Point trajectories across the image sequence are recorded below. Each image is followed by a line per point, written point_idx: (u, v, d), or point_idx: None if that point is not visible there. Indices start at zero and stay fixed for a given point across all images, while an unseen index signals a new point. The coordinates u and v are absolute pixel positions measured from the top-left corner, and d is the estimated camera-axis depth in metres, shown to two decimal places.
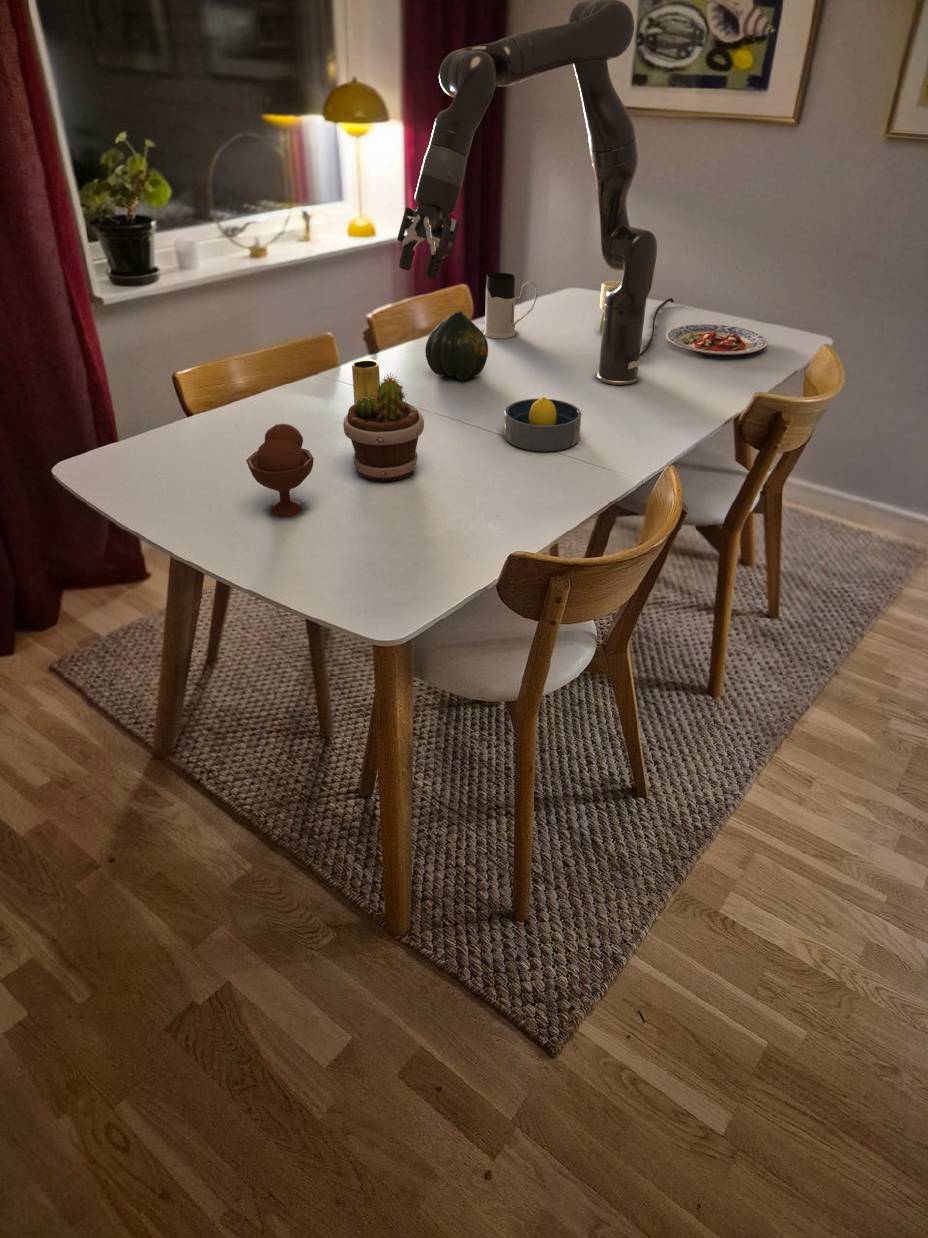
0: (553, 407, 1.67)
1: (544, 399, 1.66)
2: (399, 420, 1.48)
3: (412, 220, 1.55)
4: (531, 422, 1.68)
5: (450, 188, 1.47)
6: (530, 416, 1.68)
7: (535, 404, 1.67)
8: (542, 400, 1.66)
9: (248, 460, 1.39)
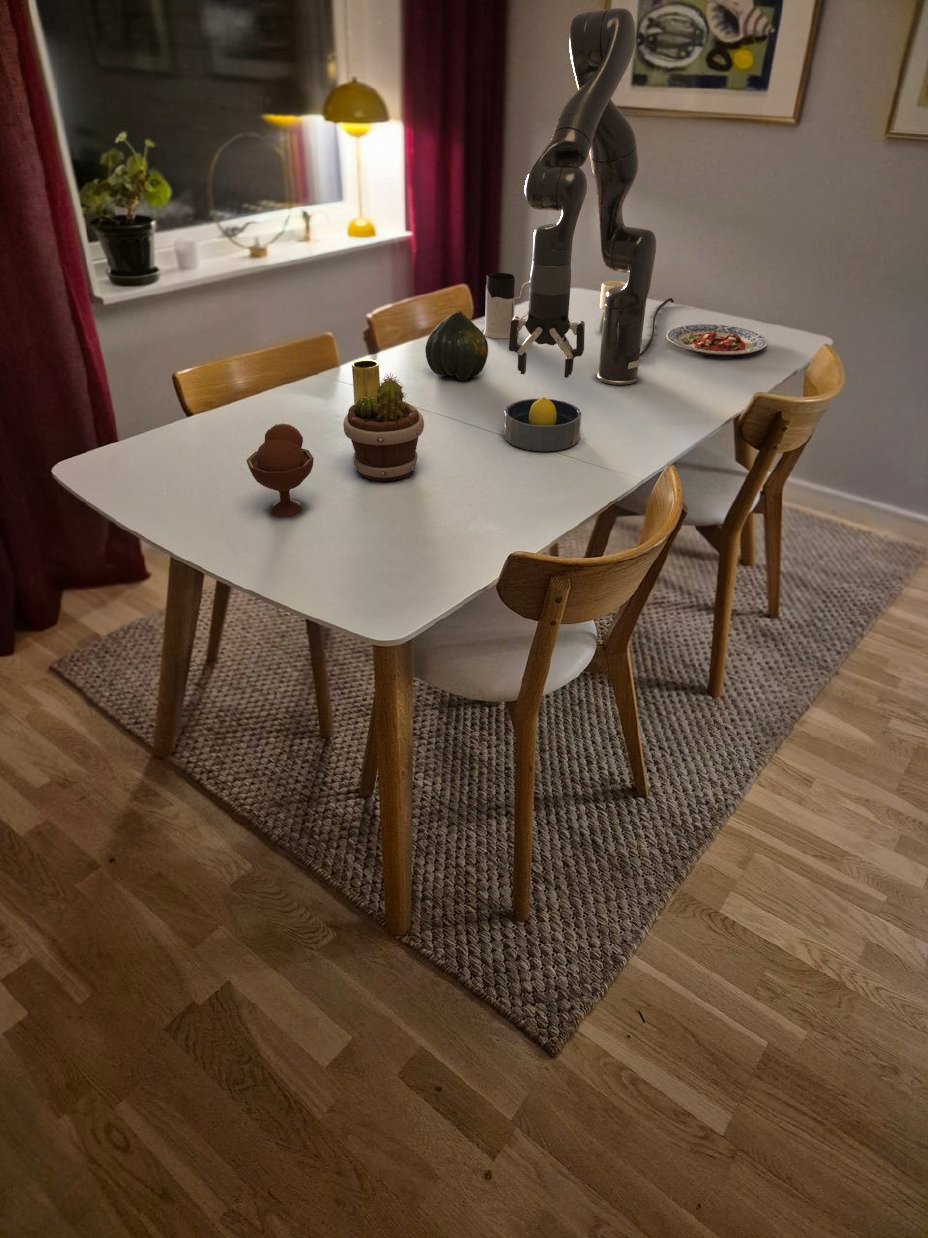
0: (553, 407, 1.67)
1: (544, 399, 1.66)
2: (399, 420, 1.48)
3: (520, 329, 1.60)
4: (531, 422, 1.68)
5: (569, 296, 1.54)
6: (530, 416, 1.68)
7: (535, 404, 1.67)
8: (542, 400, 1.66)
9: (248, 460, 1.39)
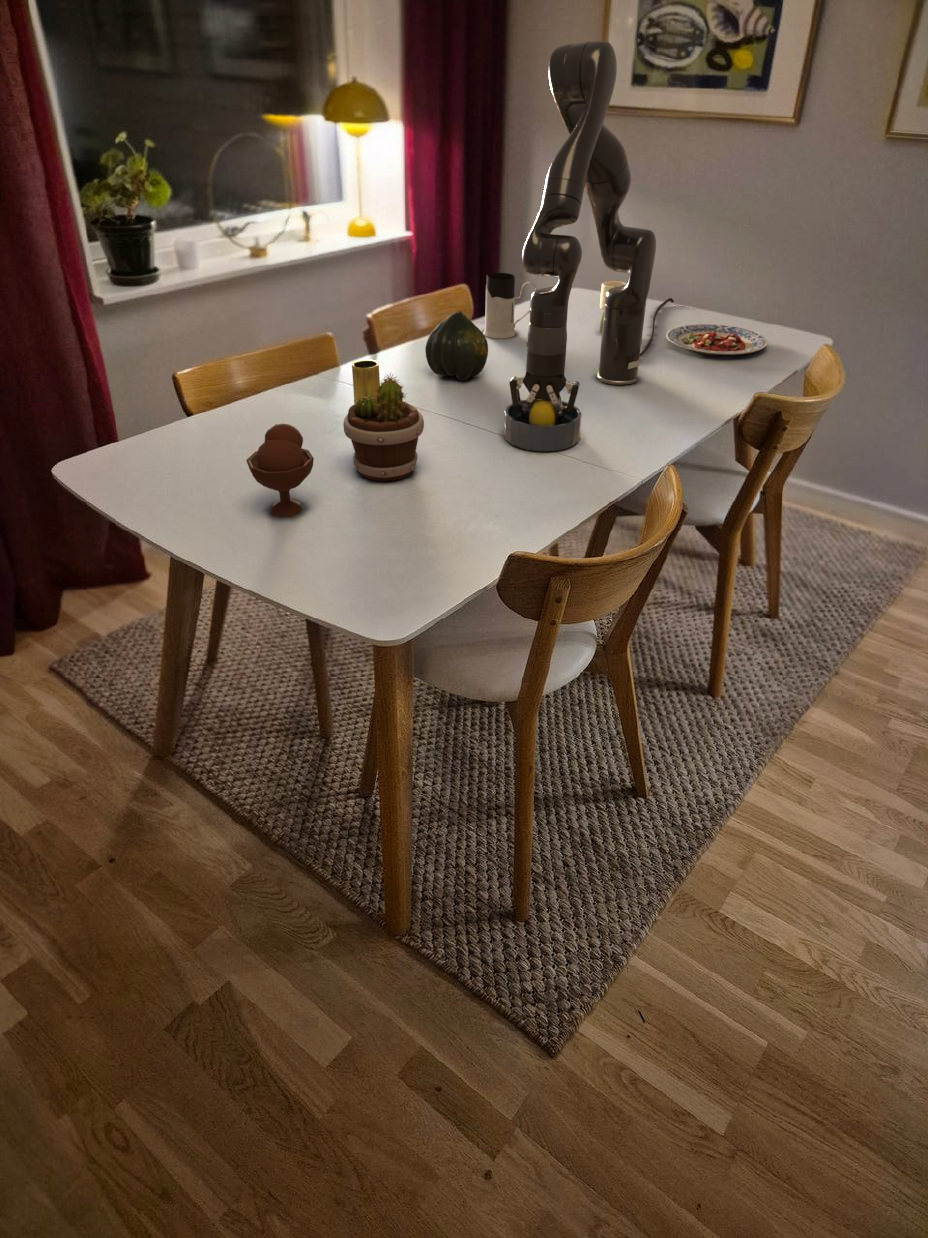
0: (553, 407, 1.67)
1: None
2: (399, 420, 1.48)
3: (520, 387, 1.66)
4: (531, 422, 1.68)
5: (565, 355, 1.61)
6: (530, 416, 1.68)
7: (535, 404, 1.67)
8: (542, 400, 1.66)
9: (248, 460, 1.39)
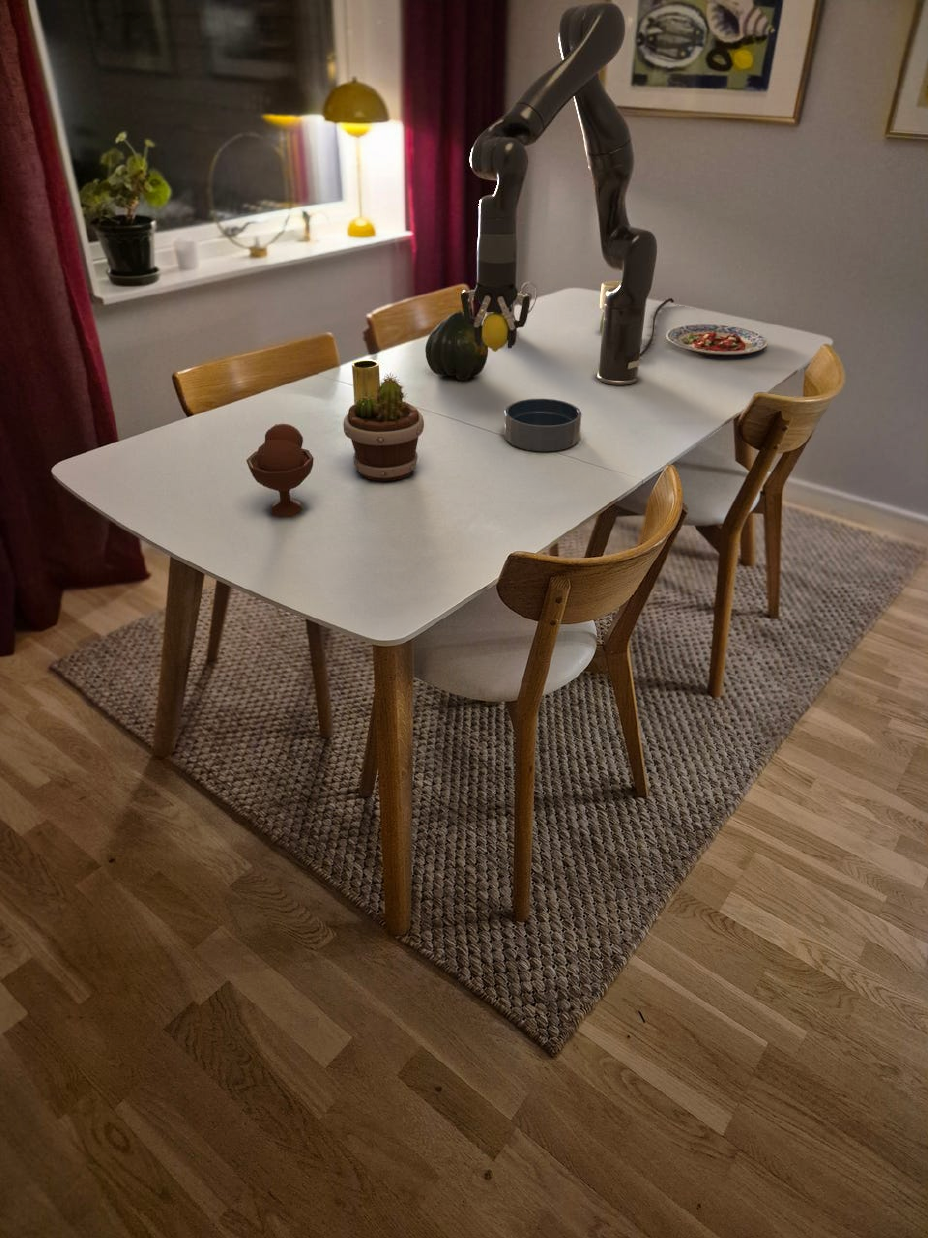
0: (505, 320, 1.65)
1: None
2: (399, 420, 1.48)
3: (472, 300, 1.64)
4: (483, 336, 1.66)
5: (515, 265, 1.59)
6: (482, 330, 1.66)
7: (487, 317, 1.65)
8: (494, 313, 1.65)
9: (248, 460, 1.39)
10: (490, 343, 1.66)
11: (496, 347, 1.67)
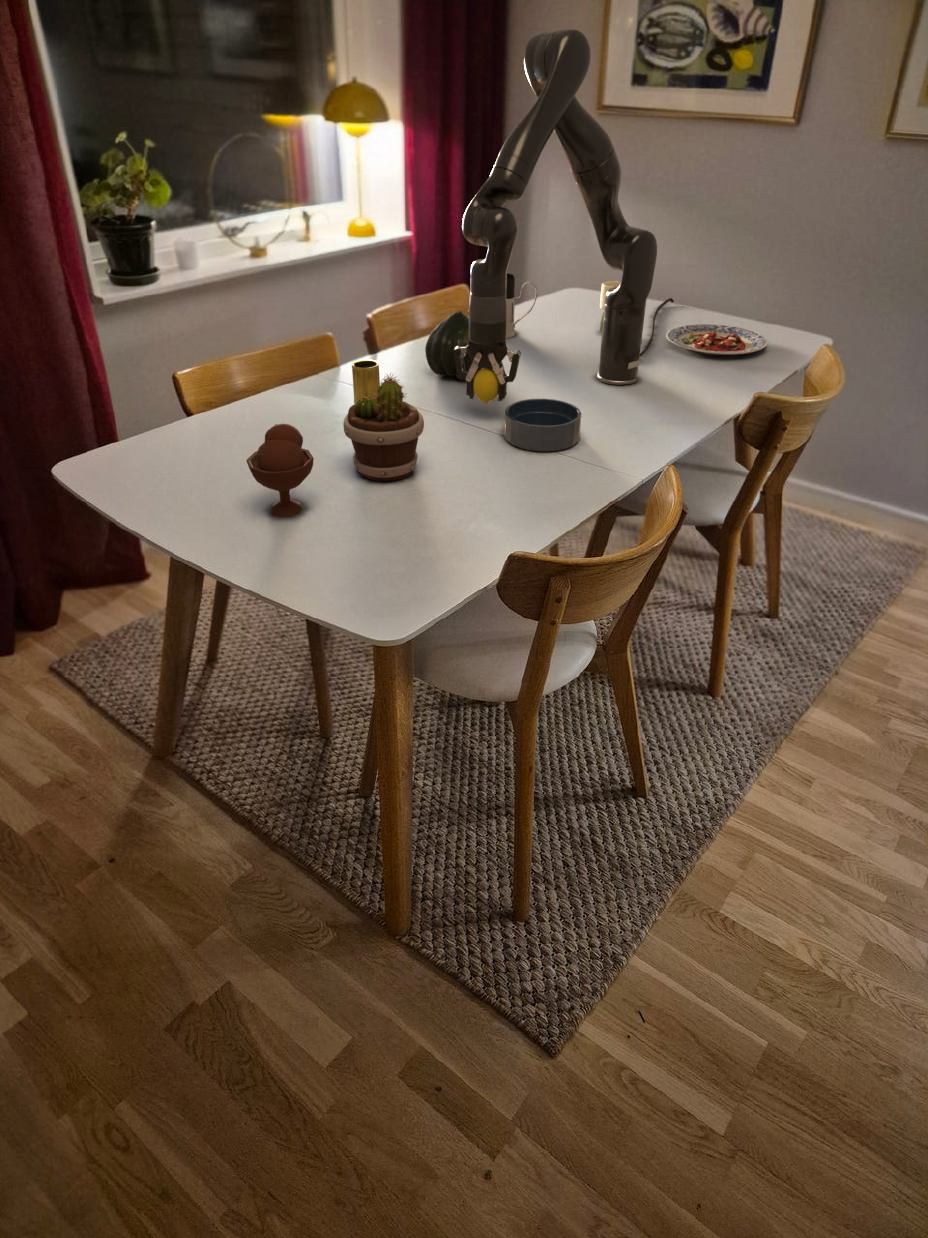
0: (496, 375, 1.72)
1: None
2: (399, 420, 1.48)
3: None
4: (475, 390, 1.74)
5: (505, 324, 1.66)
6: (474, 384, 1.74)
7: (478, 372, 1.72)
8: (485, 368, 1.72)
9: (248, 460, 1.39)
10: (481, 396, 1.74)
11: (487, 400, 1.75)
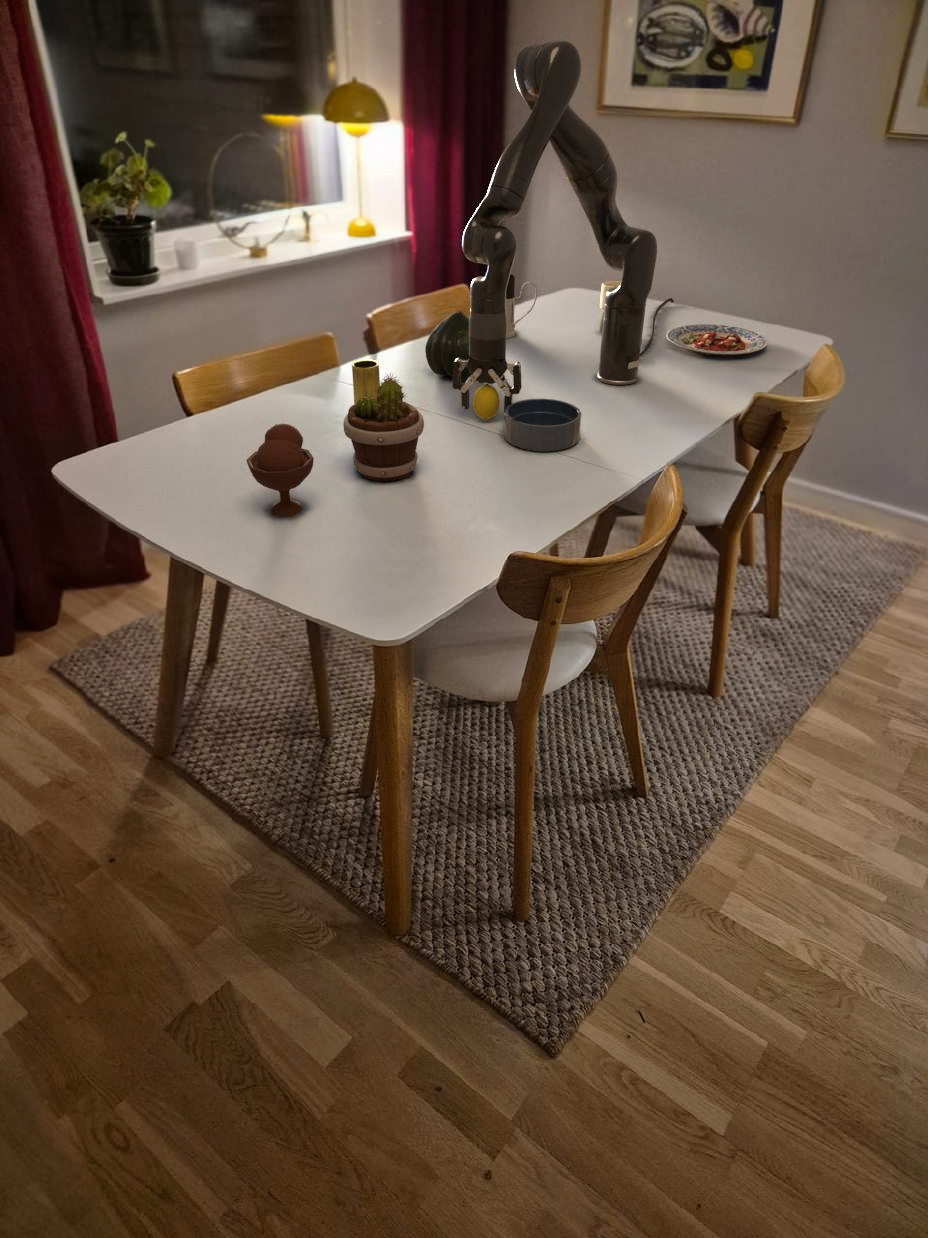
0: (495, 393, 1.75)
1: (487, 385, 1.74)
2: (399, 420, 1.48)
3: (462, 369, 1.74)
4: (475, 407, 1.76)
5: (505, 340, 1.68)
6: (474, 401, 1.76)
7: (478, 390, 1.75)
8: (485, 386, 1.74)
9: (248, 460, 1.39)
10: (481, 413, 1.76)
11: (487, 417, 1.77)
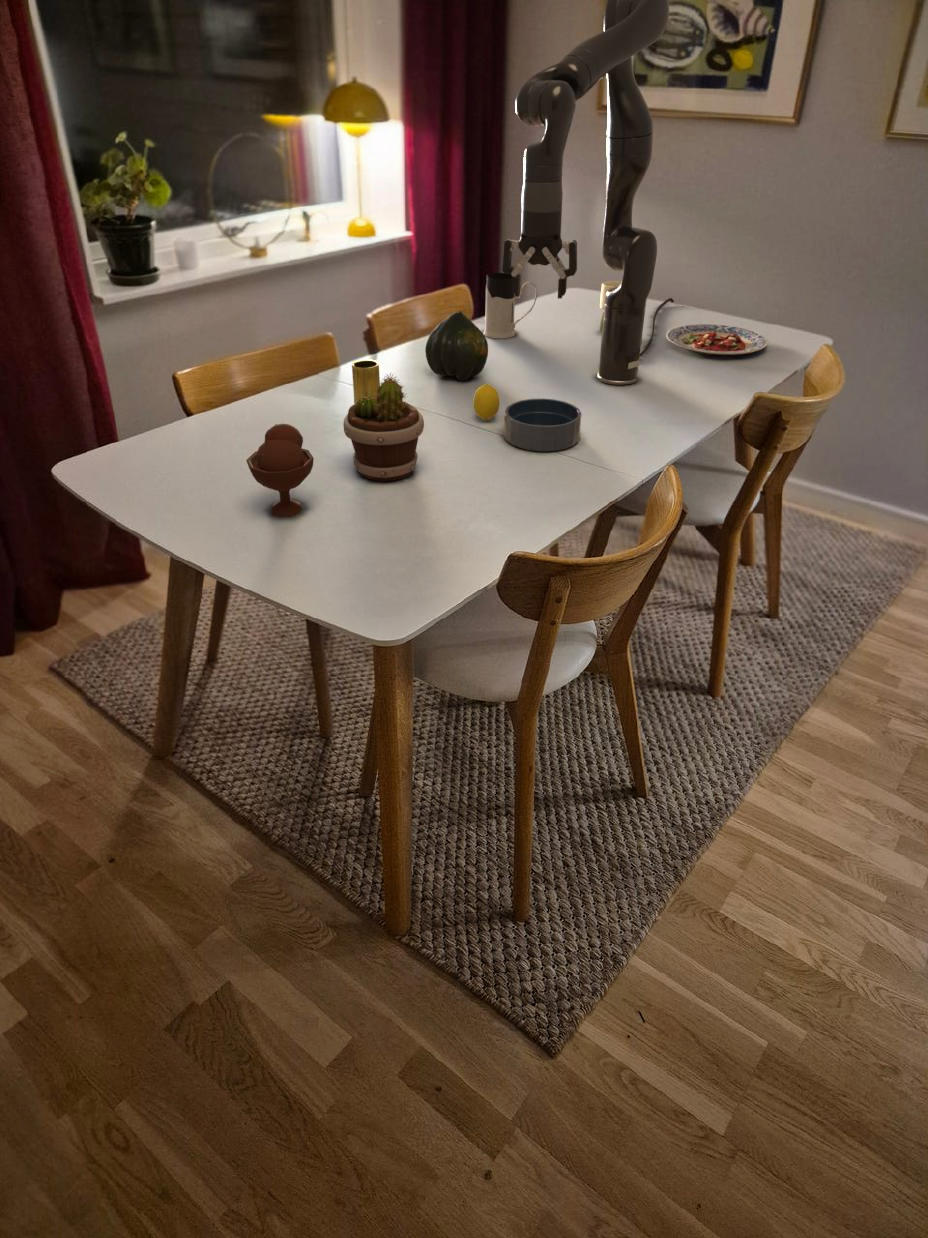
0: (495, 393, 1.75)
1: (487, 385, 1.74)
2: (399, 420, 1.48)
3: None
4: (475, 407, 1.76)
5: (561, 214, 1.56)
6: (474, 401, 1.76)
7: (478, 390, 1.75)
8: (485, 386, 1.74)
9: (248, 460, 1.39)
10: (481, 413, 1.76)
11: (487, 417, 1.77)
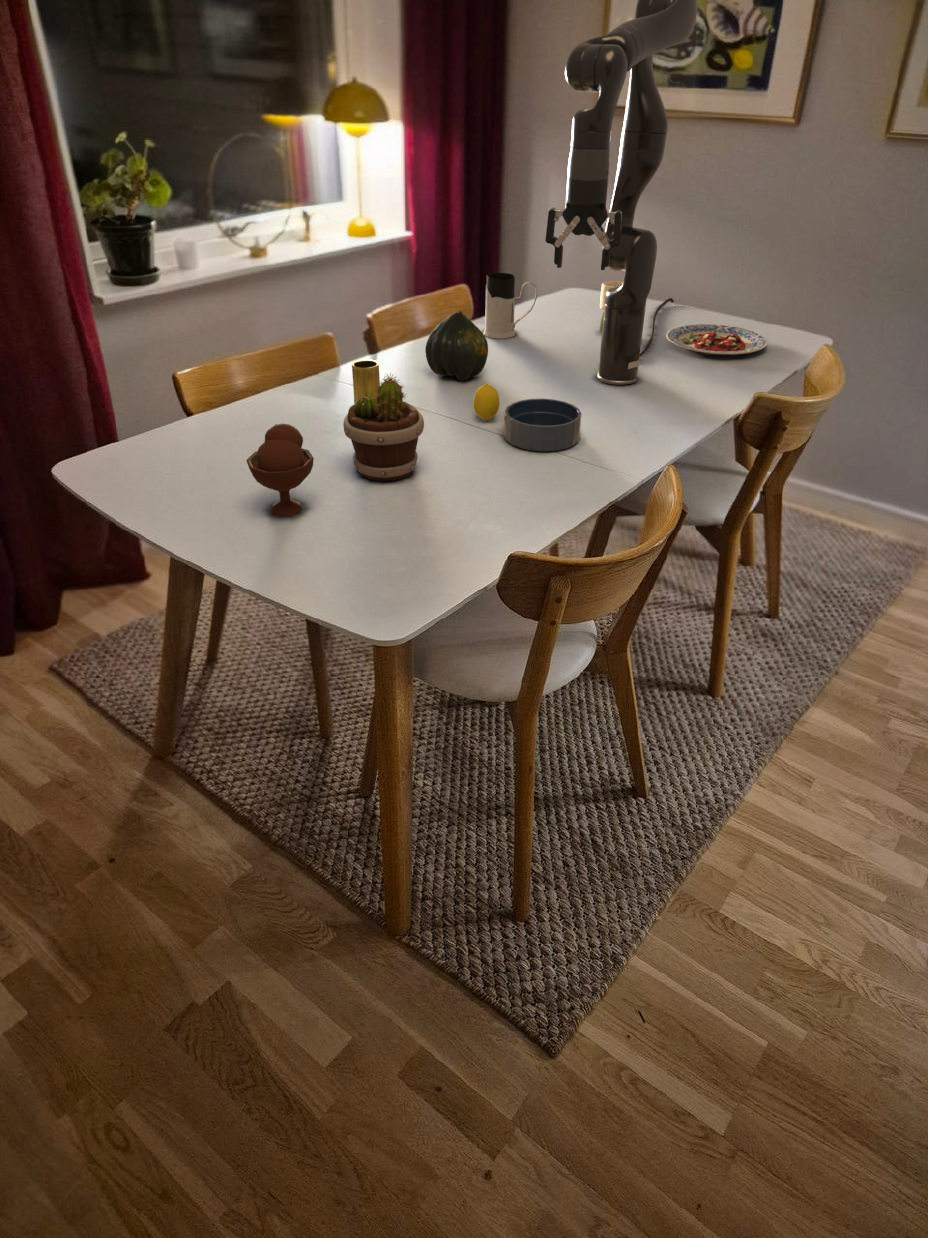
0: (495, 393, 1.75)
1: (487, 385, 1.74)
2: (399, 420, 1.48)
3: None
4: (475, 407, 1.76)
5: (607, 183, 1.55)
6: (474, 401, 1.76)
7: (478, 390, 1.75)
8: (485, 386, 1.74)
9: (248, 460, 1.39)
10: (481, 413, 1.76)
11: (487, 417, 1.77)
